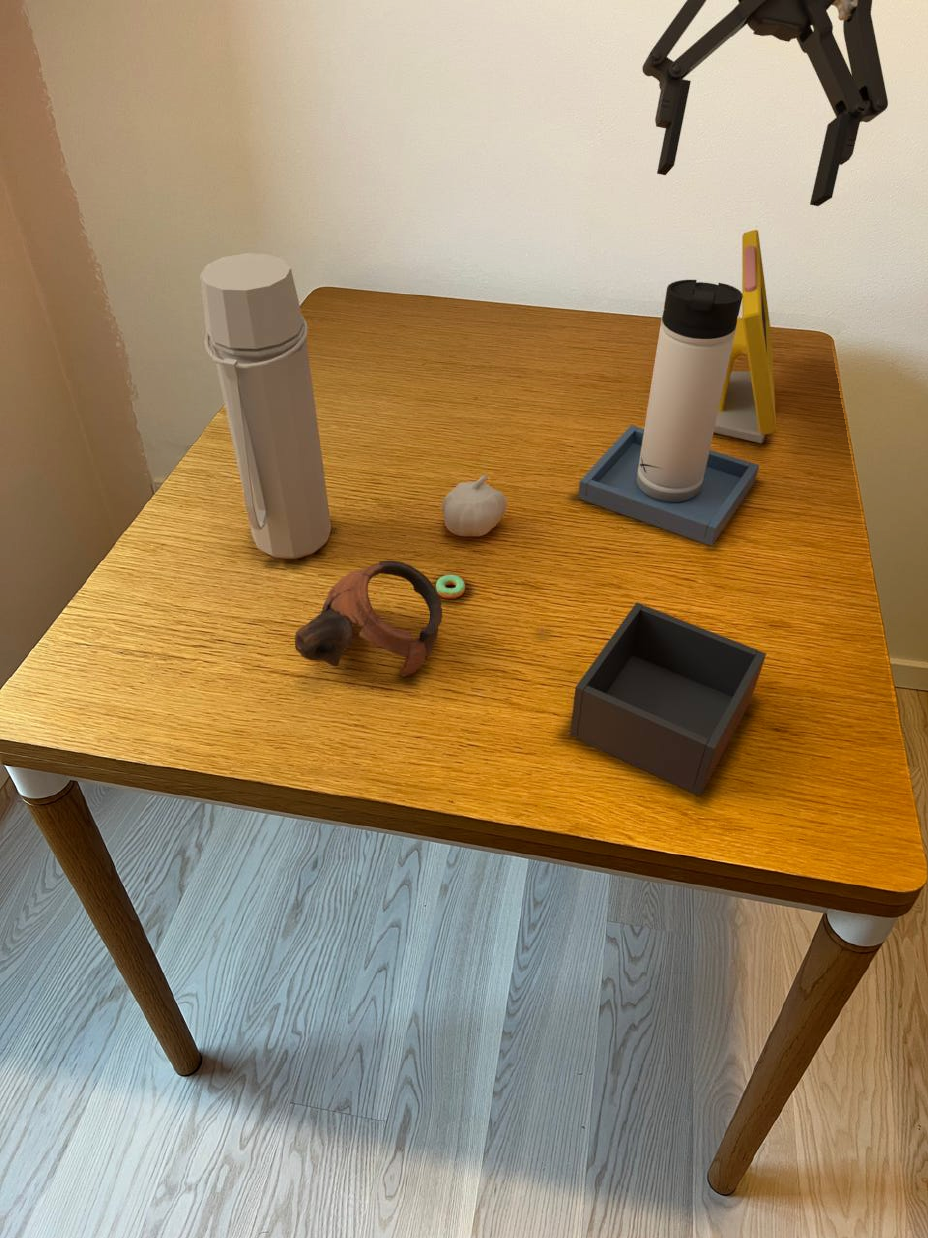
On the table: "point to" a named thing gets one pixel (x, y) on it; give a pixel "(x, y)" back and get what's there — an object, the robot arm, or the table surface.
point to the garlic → (473, 508)
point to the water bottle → (268, 399)
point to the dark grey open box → (666, 696)
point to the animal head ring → (369, 619)
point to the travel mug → (687, 387)
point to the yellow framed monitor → (750, 358)
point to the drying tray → (690, 518)
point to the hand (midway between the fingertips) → (743, 185)
